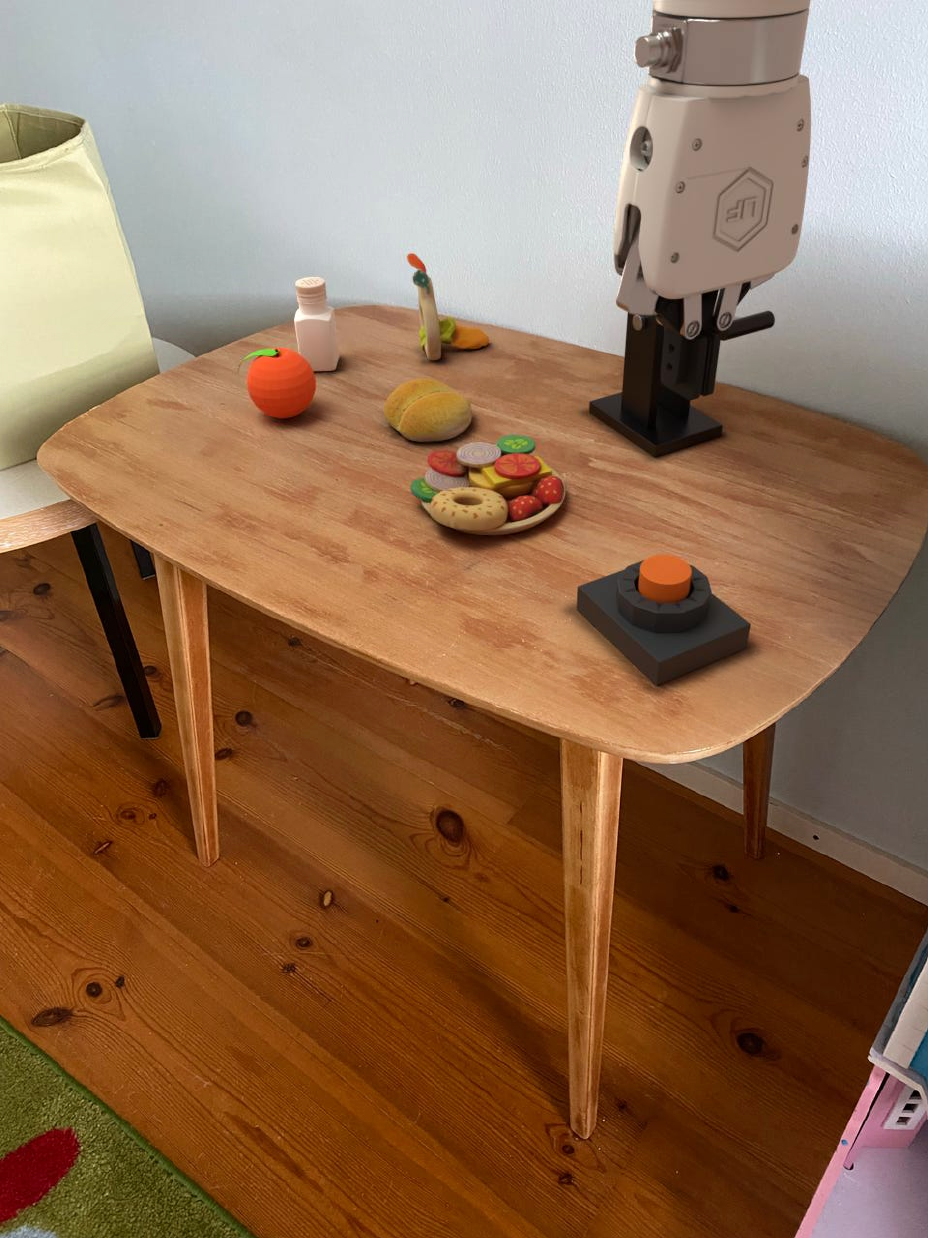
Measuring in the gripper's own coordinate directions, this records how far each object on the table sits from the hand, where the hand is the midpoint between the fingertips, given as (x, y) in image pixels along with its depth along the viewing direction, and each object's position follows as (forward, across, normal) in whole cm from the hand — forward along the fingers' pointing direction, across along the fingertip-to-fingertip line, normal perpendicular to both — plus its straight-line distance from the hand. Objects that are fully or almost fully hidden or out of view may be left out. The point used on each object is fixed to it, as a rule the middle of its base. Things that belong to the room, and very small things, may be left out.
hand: (686, 388), depth 61 cm
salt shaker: (+19, -4, +57) cm, 60 cm away
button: (+16, 0, 0) cm, 16 cm away
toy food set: (+19, -2, +22) cm, 29 cm away
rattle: (+19, +10, +52) cm, 56 cm away
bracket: (+19, +19, +26) cm, 37 cm away
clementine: (+19, -12, +48) cm, 53 cm away
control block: (+19, 0, 0) cm, 19 cm away
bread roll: (+19, 0, +38) cm, 43 cm away
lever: (+8, +19, +21) cm, 29 cm away
